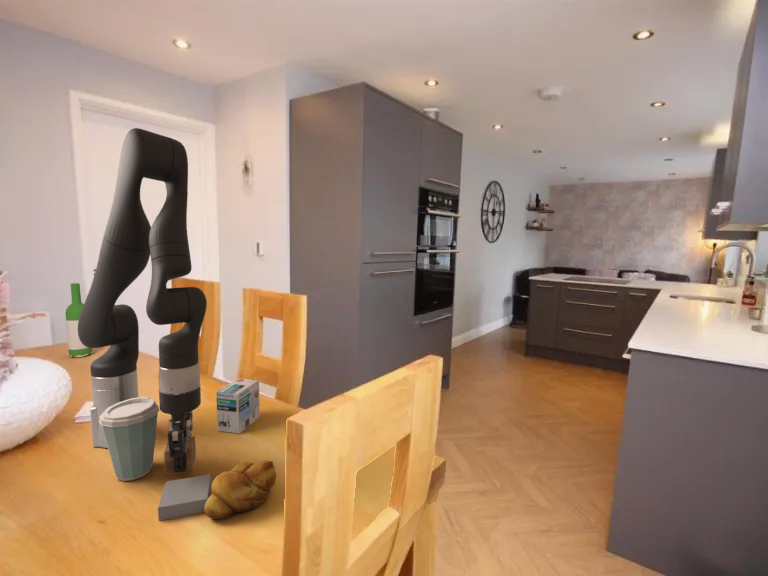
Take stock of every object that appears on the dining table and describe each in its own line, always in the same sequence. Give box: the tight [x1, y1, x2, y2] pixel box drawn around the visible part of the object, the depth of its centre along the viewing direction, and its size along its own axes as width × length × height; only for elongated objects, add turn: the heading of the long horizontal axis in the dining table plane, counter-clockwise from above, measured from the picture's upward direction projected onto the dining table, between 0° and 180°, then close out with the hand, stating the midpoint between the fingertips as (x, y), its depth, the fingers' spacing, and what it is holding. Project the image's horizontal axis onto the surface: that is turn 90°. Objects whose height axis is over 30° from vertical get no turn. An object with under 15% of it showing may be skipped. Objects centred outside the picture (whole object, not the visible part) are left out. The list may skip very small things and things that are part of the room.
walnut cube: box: [163, 436, 197, 476], centre depth 83 cm, size 5×5×5 cm
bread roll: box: [204, 460, 277, 520], centre depth 75 cm, size 13×10×8 cm
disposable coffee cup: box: [99, 396, 160, 482], centre depth 84 cm, size 11×11×15 cm
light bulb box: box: [215, 378, 261, 434], centre depth 107 cm, size 11×7×11 cm, turn 168°
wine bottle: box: [65, 282, 93, 356], centre depth 163 cm, size 8×8×30 cm
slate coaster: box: [157, 474, 212, 521], centre depth 76 cm, size 8×8×2 cm
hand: (182, 462), depth 83 cm, fingers closed on walnut cube, 5 cm apart
